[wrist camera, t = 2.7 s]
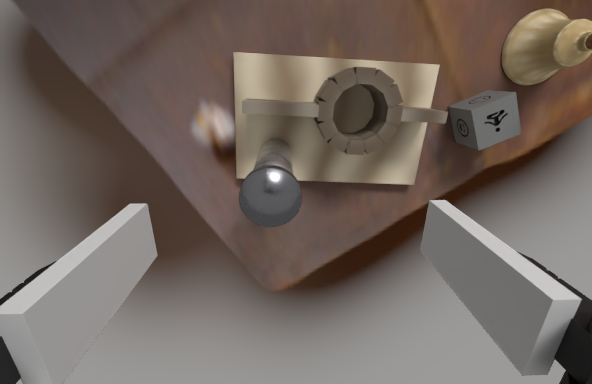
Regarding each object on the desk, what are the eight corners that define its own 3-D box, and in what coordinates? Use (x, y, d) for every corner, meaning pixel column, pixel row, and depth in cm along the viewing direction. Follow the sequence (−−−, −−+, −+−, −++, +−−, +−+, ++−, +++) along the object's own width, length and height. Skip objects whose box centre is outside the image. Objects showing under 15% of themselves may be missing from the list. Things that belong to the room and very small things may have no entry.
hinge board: (238, 175, 39) (230, 192, 33) (235, 53, 33) (225, 47, 27) (410, 181, 40) (431, 198, 34) (434, 65, 35) (464, 62, 29)
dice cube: (485, 90, 36) (515, 92, 31) (491, 127, 38) (521, 133, 33) (447, 106, 37) (471, 110, 32) (455, 142, 38) (478, 150, 34)
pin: (255, 171, 37) (239, 226, 23) (255, 133, 36) (238, 167, 22) (293, 173, 38) (300, 227, 24) (295, 135, 36) (303, 169, 22)
